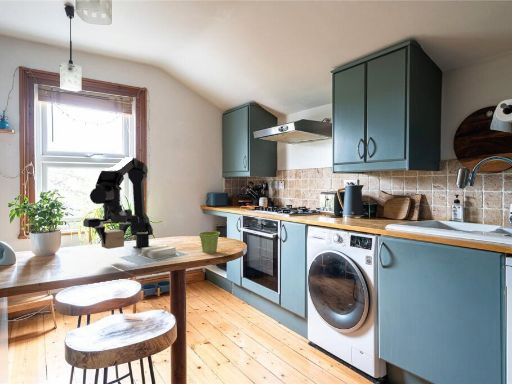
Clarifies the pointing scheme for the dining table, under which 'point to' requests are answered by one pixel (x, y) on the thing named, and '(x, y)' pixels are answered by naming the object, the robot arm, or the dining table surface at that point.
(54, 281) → the dining table surface
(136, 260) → the board
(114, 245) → the walnut cube
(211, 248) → the plant pot
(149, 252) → the plinth
